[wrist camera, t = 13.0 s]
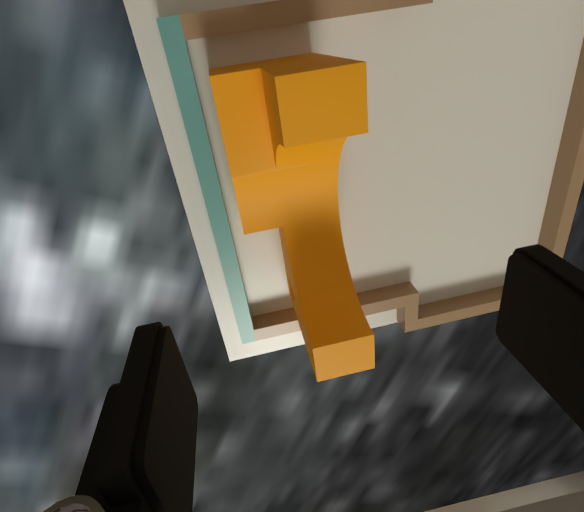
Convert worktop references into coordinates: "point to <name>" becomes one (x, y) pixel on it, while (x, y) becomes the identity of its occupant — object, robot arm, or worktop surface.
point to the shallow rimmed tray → (384, 148)
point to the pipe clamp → (300, 187)
